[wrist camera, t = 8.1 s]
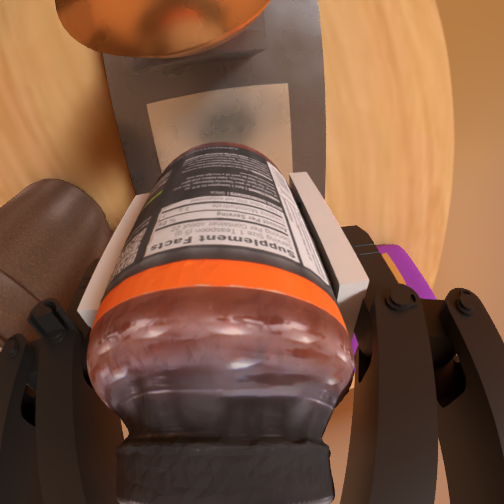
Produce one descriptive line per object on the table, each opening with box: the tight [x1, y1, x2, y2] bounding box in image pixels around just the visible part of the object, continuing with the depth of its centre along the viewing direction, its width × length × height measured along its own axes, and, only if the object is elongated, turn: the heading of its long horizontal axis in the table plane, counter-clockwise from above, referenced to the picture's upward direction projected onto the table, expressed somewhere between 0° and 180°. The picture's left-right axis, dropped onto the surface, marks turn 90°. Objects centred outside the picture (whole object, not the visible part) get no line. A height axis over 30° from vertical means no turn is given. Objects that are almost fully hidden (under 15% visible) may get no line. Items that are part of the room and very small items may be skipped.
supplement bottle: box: [87, 142, 355, 504], centre depth 8 cm, size 6×6×11 cm
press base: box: [103, 0, 326, 200], centre depth 13 cm, size 17×14×9 cm
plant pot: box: [0, 179, 114, 397], centre depth 16 cm, size 16×16×16 cm
